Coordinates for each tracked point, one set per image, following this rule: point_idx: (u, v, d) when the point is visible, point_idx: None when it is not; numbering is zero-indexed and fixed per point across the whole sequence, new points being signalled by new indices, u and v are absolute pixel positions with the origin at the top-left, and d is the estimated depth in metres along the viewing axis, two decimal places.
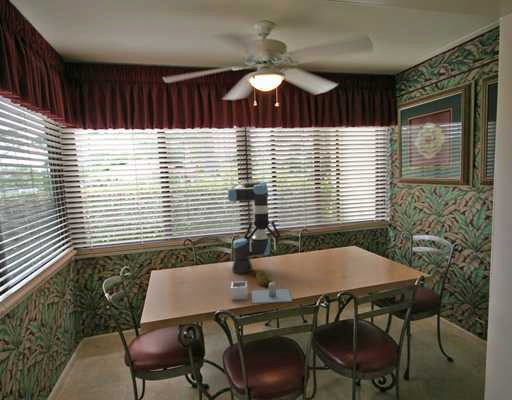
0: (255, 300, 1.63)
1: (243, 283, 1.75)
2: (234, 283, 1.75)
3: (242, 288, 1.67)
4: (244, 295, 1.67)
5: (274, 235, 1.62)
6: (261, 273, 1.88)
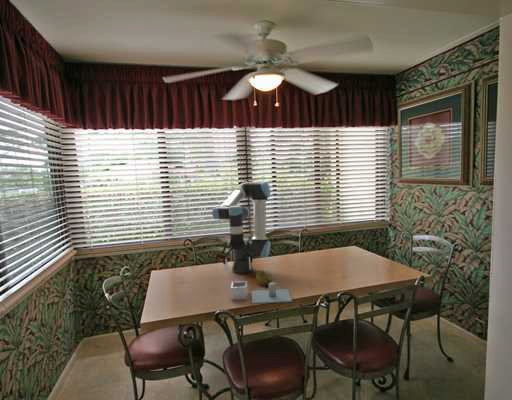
0: (255, 300, 1.63)
1: (243, 283, 1.75)
2: (234, 283, 1.75)
3: (242, 288, 1.67)
4: (244, 295, 1.67)
5: (249, 254, 1.68)
6: (261, 273, 1.88)
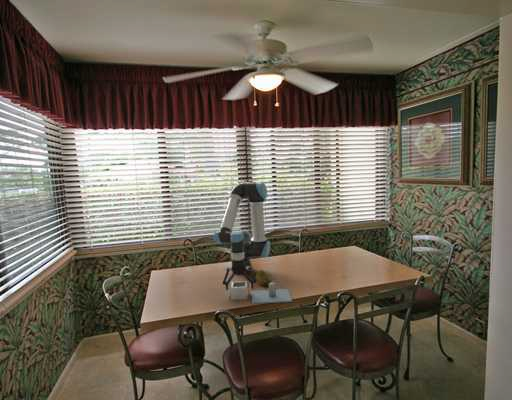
0: (255, 300, 1.63)
1: (243, 283, 1.75)
2: (234, 283, 1.75)
3: (242, 288, 1.67)
4: (244, 295, 1.67)
5: (250, 280, 1.70)
6: (261, 273, 1.88)
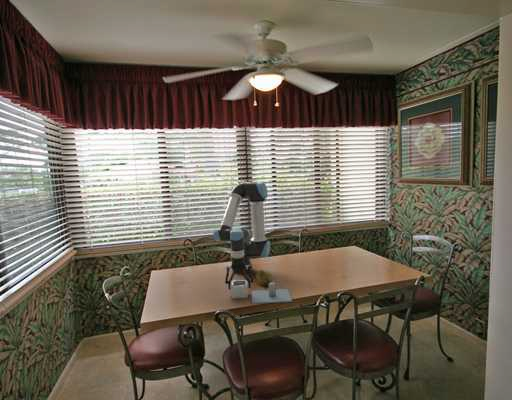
0: (255, 300, 1.63)
1: (243, 282, 1.75)
2: (234, 282, 1.75)
3: (242, 287, 1.67)
4: (244, 294, 1.68)
5: (247, 280, 1.70)
6: (261, 273, 1.88)
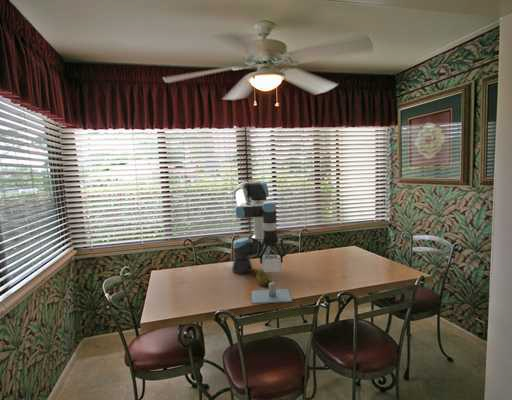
0: (255, 300, 1.63)
1: (274, 256, 1.71)
2: (265, 256, 1.70)
3: (275, 260, 1.63)
4: (277, 268, 1.63)
5: (280, 254, 1.66)
6: (261, 273, 1.88)
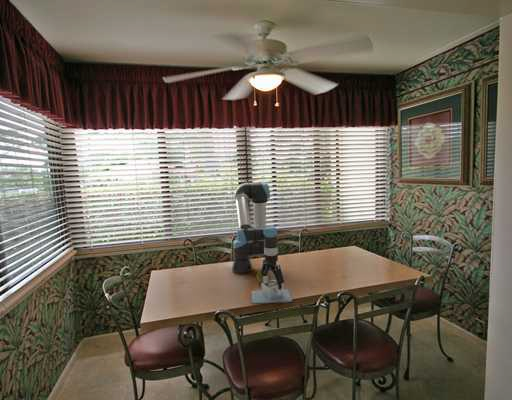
0: (255, 300, 1.63)
1: None
2: (274, 281, 1.73)
3: (267, 287, 1.65)
4: (268, 295, 1.64)
5: None
6: None
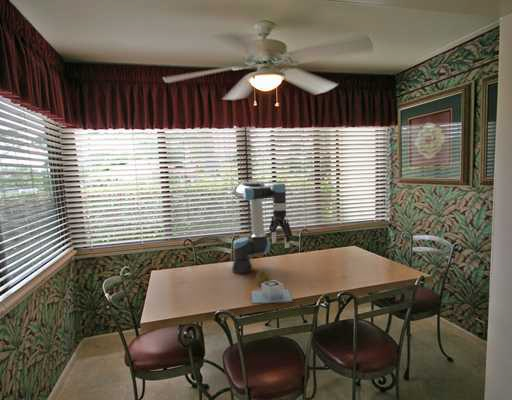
0: (255, 300, 1.63)
1: None
2: (274, 281, 1.73)
3: (267, 287, 1.65)
4: (268, 295, 1.64)
5: (285, 233, 1.68)
6: (261, 273, 1.88)
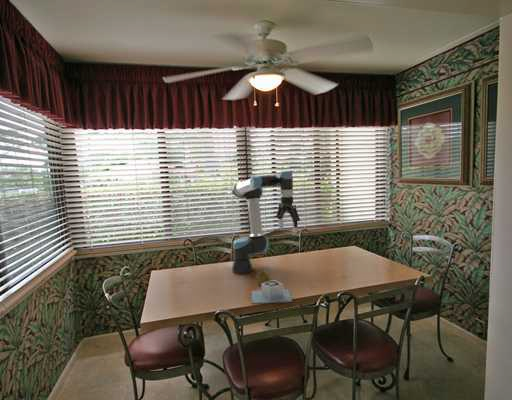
0: (255, 300, 1.63)
1: None
2: (274, 281, 1.73)
3: (267, 287, 1.65)
4: (268, 295, 1.64)
5: (292, 218, 1.74)
6: (261, 273, 1.88)
